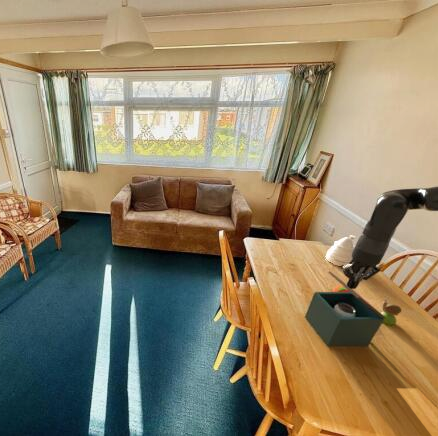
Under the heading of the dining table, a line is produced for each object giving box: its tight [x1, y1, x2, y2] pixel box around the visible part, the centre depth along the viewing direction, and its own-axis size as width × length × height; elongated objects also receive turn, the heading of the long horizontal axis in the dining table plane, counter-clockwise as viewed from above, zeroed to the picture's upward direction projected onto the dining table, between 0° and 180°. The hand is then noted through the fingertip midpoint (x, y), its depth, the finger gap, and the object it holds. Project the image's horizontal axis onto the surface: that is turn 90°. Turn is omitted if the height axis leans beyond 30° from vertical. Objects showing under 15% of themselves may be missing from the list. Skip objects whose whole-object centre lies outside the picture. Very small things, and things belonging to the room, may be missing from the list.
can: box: [334, 302, 355, 317], centre depth 92 cm, size 6×6×12 cm
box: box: [304, 291, 384, 347], centre depth 92 cm, size 16×14×14 cm
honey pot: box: [325, 234, 356, 267], centre depth 136 cm, size 13×13×18 cm
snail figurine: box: [380, 298, 402, 326], centre depth 96 cm, size 5×6×12 cm
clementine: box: [333, 285, 350, 292], centre depth 110 cm, size 8×7×7 cm
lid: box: [328, 271, 386, 319], centre depth 87 cm, size 17×14×1 cm
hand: (351, 287), depth 85 cm, fingers closed
